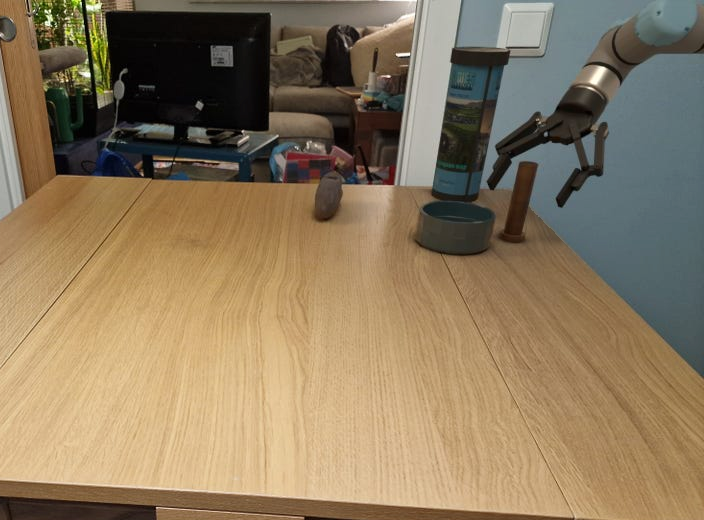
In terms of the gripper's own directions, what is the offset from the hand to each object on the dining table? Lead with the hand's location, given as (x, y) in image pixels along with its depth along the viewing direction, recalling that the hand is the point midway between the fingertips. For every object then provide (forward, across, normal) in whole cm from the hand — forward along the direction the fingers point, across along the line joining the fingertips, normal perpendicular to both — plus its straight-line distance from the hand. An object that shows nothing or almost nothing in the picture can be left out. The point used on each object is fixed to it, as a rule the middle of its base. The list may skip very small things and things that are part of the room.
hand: (522, 194), depth 121 cm
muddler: (+6, 0, -5) cm, 8 cm away
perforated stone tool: (+18, +32, +6) cm, 37 cm away
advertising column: (-4, +23, -16) cm, 29 cm away
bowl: (+14, +5, +2) cm, 15 cm away
